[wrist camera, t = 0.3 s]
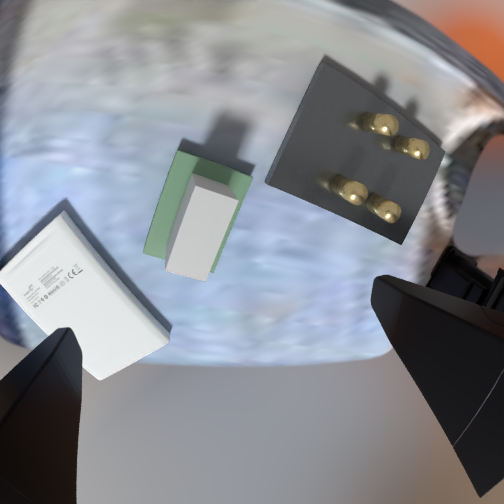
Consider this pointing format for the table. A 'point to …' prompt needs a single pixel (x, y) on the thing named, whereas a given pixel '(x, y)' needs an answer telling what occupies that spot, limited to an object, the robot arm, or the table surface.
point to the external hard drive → (81, 298)
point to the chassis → (356, 156)
